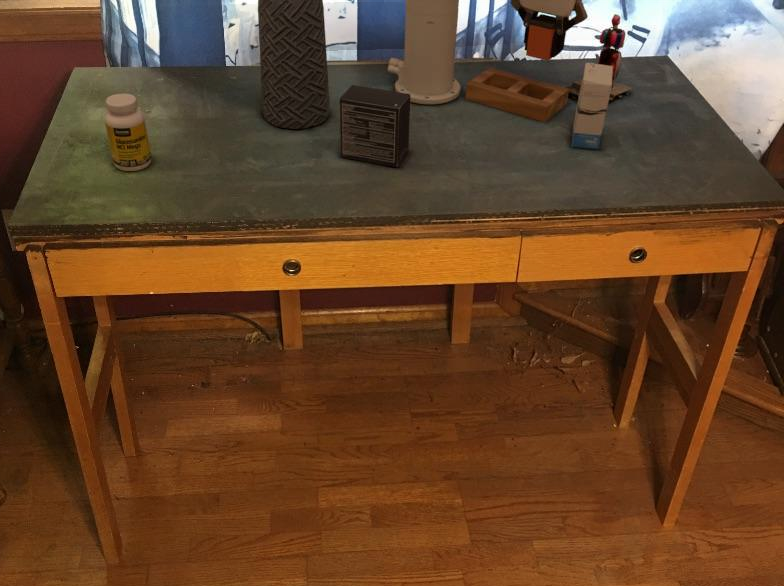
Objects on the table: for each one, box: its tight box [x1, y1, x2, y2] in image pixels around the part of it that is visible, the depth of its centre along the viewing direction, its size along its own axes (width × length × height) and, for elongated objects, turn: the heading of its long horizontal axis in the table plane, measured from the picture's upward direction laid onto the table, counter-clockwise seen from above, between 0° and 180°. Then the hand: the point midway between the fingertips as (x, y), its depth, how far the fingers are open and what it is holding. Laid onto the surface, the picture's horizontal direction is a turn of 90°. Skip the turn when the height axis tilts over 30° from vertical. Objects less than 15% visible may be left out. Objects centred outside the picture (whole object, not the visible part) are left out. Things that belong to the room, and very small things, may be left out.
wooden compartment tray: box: [465, 67, 569, 123], centre depth 162 cm, size 9×17×3 cm, turn 56°
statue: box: [566, 13, 633, 102], centre depth 162 cm, size 11×9×15 cm
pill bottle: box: [104, 93, 152, 172], centre depth 139 cm, size 6×6×11 cm
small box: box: [339, 84, 411, 168], centre depth 143 cm, size 11×6×10 cm, turn 71°
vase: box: [257, 0, 331, 130], centre depth 147 cm, size 12×12×28 cm
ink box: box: [571, 62, 613, 150], centre depth 148 cm, size 8×5×12 cm, turn 168°
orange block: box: [525, 13, 556, 62], centre depth 152 cm, size 4×4×6 cm
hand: (542, 50), depth 154 cm, fingers closed on orange block, 4 cm apart
